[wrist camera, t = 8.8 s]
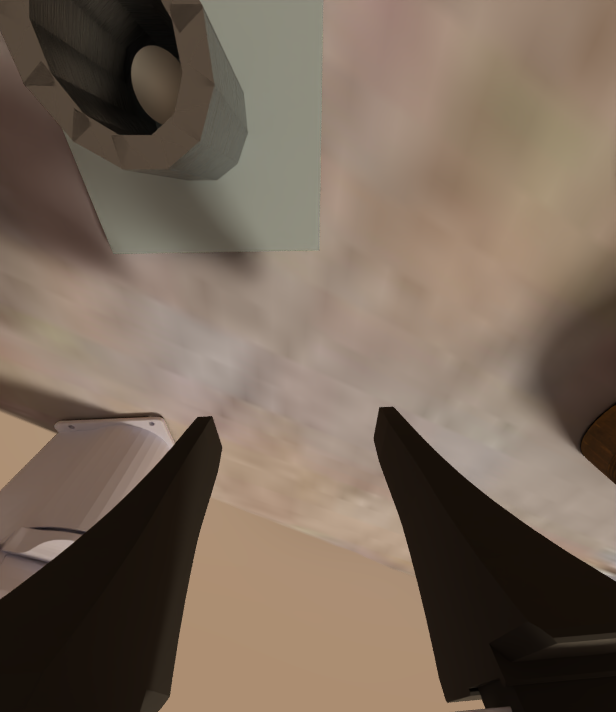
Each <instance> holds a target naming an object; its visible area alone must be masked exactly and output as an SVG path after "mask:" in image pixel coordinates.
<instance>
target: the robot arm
mask: <svg viewBox="0 0 616 712" xmlns="http://www.w3.org/2000/svg"><path fill="white" fill-rule="evenodd" d="M54 427H55V429H56V430H57V431H58V433H57V434H56V435H55V436H54V437H53V438H52V440H51V441H49V442H48V443H47V444H46V446H44V447H43V448H42V449H41V450H40V452H38V454H36V455H35V457H33V458H32V459H31V460H30V461H29V462H28V463H27V464H26V465H25V467H24V468H23V469H21V470H20V471H19V472H18V473H17V474H16V475H15V476H14V477H13V478H12V479H11V481H10V482H8V484H7V485H5V487H3V488H2V489H1V491H0V712H158V711H159V710H160V709H161V708H162V706H163V705H164V704H165V702H166V701H167V700H168V698H169V697H170V691H171V684H172V677H173V671H174V664H175V658H176V651H177V644H178V638H179V632H180V627H181V621H182V615H183V610H184V604H185V598H186V593H187V588H188V583H189V578H190V573H191V568H192V563H193V559H194V554H195V549H196V545H197V540H198V537H199V533H200V529H201V525H202V522H203V519H204V516H205V512H206V509H207V506H208V503H209V499H210V496H211V493H212V490H213V486H214V483H215V480H216V476H217V473H218V468H219V463H220V458H221V452H222V445H221V442H220V439H219V436H218V433H217V430H216V427H215V423H214V420H213V417H212V416H208V417H197V418H196V419H195V421H194V422H193V423H192V424H191V425H190V426H189V428H188V429H187V430H186V431H185V432H184V434H183V435H182V436H181V437H180V438H179V439H178V441H177V442H176V443H175V442H174V440H173V438H172V436H171V434H170V431H169V429H168V427H167V425H166V423H165V421H164V419H163V418H161V417H141V418H118V419H95V420H71V421H58V422H57V423H56V424H55V425H54ZM374 443H375V447H376V451H377V455H378V459H379V463H380V465H381V468H382V471H383V474H384V476H385V479H386V482H387V485H388V487H389V490H390V493H391V495H392V498H393V501H394V503H395V506H396V509H397V512H398V514H399V517H400V520H401V523H402V526H403V530H404V533H405V537H406V541H407V544H408V548H409V552H410V555H411V559H412V563H413V567H414V571H415V575H416V578H417V582H418V586H419V591H420V595H421V599H422V603H423V607H424V611H425V615H426V620H427V624H428V629H429V633H430V638H431V642H432V647H433V651H434V656H435V661H436V666H437V670H438V675H439V679H440V683H441V686H442V689H443V693H444V696H445V699H446V701H447V702H448V703H449V702H459V701H470V700H480V699H482V701H483V703H484V706H485V709H478V710H468V711H457V712H616V581H614V580H613V579H611V578H609V577H608V576H606V575H604V574H603V573H601V572H599V571H598V570H596V569H595V568H593V567H591V566H590V565H588V564H586V563H585V562H583V561H581V560H580V559H578V558H577V557H575V556H573V555H572V554H570V553H568V552H567V551H565V550H564V549H562V548H561V547H559V546H558V545H556V544H554V543H553V542H551V541H550V540H548V539H547V538H545V537H544V536H542V535H541V534H539V533H538V532H536V531H535V530H533V529H532V528H531V527H529V526H528V525H526V524H525V523H523V522H522V521H521V520H519V519H518V518H516V517H515V516H514V515H512V514H511V513H510V512H508V511H507V510H505V509H504V508H503V507H501V506H500V505H499V504H497V503H496V502H494V501H493V500H492V499H491V498H489V497H488V496H487V495H485V494H484V493H483V492H482V491H480V490H479V489H478V488H477V487H476V486H474V485H473V484H472V483H471V482H469V481H468V480H467V479H466V478H465V477H463V476H462V475H461V474H460V473H459V472H458V471H457V470H456V469H454V468H453V467H452V466H451V465H450V464H449V463H448V462H447V461H446V460H445V459H443V458H442V457H441V456H440V455H439V454H438V453H437V452H436V451H435V450H434V449H433V448H432V447H431V446H430V445H429V444H428V443H427V442H426V441H425V440H424V439H423V438H422V437H421V436H420V435H419V434H418V433H417V432H416V431H415V429H414V428H413V427H412V426H411V425H410V424H409V423H408V422H407V421H406V420H405V419H404V418H403V416H402V415H401V414H400V413H399V412H398V411H397V410H396V409H395V408H394V407H379V412H378V418H377V423H376V428H375V434H374Z"/></svg>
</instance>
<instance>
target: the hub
mask: <svg viewBox="0 0 616 712" xmlns="http://www.w3.org/2000/svg"><path fill="white" fill-rule="evenodd" d="M0 30H1V33H2V35H3V37H4V39H5V42H6V44H7V46H8V48H9V51H10V53H11V55H12V57H13V60H14V62H15V64H16V67H17V69H18V71H19V73H20V76H21V78H22V80H23V83H24V85H25V86H26V87H27V88H28V89H29V90H30V92H31V93H32V94H33V95H34V96H35V97H36V99H37V100H38V101H39V102H40V103H41V104H42V105H43V107H44V108H45V109H46V110H47V111H48V112H49V114H50V115H51V116H52V117H53V118H54V119H55V121H56V122H57V123H58V124H59V125H60V126H61V128H62V129H63V130H64V131H65V132H66V133H67V135H68V136H69V137H70V138H71V139H72V141H73V142H74V143H77V144H79V145H81V146H82V147H84V148H86V149H88V150H90V151H91V152H93V153H95V154H97V155H98V156H100V157H102V158H104V159H106V160H107V161H109V162H111V163H113V164H114V165H116V166H118V167H120V168H122V170H126V171H133V172H139V173H145V174H151V175H158V176H164V177H170V178H176V179H182V180H189V181H199V180H216V181H217V180H218V179H220V178H221V177H222V176H223V175H225V174H226V173H227V172H228V171H229V170H231V169H232V168H233V167H234V166H236V165H237V164H238V162H239V159H240V156H241V153H242V150H243V147H244V144H245V141H246V138H247V135H248V128H247V119H246V109H245V100H244V92H243V90H242V88H241V86H240V83H239V81H238V79H237V77H236V75H235V73H234V71H233V69H232V66H231V64H230V62H229V60H228V58H227V56H226V54H225V52H224V49H223V47H222V45H221V43H220V41H219V39H218V37H217V35H216V32H215V30H214V28H213V26H212V24H211V22H210V20H209V18H208V15H207V13H206V11H205V9H204V7H203V5H202V4H201V2H200V0H0ZM146 46H158V47H161V48H163V49H165V50H167V51H168V52H170V53H171V54H172V55H173V56H174V57H175V58H178V59H180V63H181V68H182V78H181V83H180V88H179V93H178V98H177V102H176V107H175V112H174V114H173V115H172V116H171V117H170V118H169V119H168V120H167V121H166V122H165V123H164V124H163V125H162V126H161V127H160V128H159V129H158V128H157V126H156V122H155V120H154V119H152V118H151V117H150V116H149V115H148V114H147V113H146V112H145V110H144V109H143V108H142V106H141V105H140V103H139V101H138V99H137V97H136V95H135V92H134V89H133V85H132V79H131V67H132V62H133V59H134V57H135V55H136V54H137V52H138V51H139V50H140V49H142V48H143V47H146Z"/></svg>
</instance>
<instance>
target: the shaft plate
mask: <svg viewBox="0 0 616 712" xmlns="http://www.w3.org/2000/svg"><path fill="white" fill-rule="evenodd" d="M200 2H201V4H202V5H203V7H204V9H205V11H206V13H207V15H208V18H209V20H210V22H211V24H212V26H213V28H214V30H215V32H216V35H217V37H218V39H219V41H220V43H221V45H222V47H223V49H224V52H225V54H226V56H227V58H228V60H229V62H230V64H231V66H232V69H233V71H234V73H235V75H236V77H237V79H238V81H239V83H240V86H241V88H242V90H243V92H244V100H245V109H246V119H247V128H248V135H247V138H246V141H245V144H244V147H243V150H242V153H241V156H240V159H239V162H238V164H237V165H236V166H234V167H233V168H232V169H231V170H229V171H228V172H227V173H226V174H225V175H223V176H222V177H221V178H220V179H218V180H217V181H216V180H199V181H189V180H182V179H176V178H170V177H164V176H158V175H151V174H145V173H139V172H133V171H126V170H122V168H120V167H118V166H116V165H114V164H113V163H111V162H109V161H107V160H106V159H104V158H102V157H100V156H98V155H97V154H95V153H93V152H91V151H90V150H88V149H86V148H84V147H82V146H81V145H79V144H77V143H74V142H73V141H72V139H71V138H70V137H69V136H68V135H67V133H66V132H65V131H64V130H63V129H62V130H63V132H64V134H65V137H66V139H67V142H68V144H69V147H70V149H71V152H72V154H73V156H74V159H75V161H76V164H77V166H78V169H79V171H80V174H81V176H82V179H83V181H84V183H85V186H86V188H87V191H88V193H89V196H90V198H91V201H92V203H93V205H94V208H95V210H96V213H97V215H98V218H99V220H100V223H101V225H102V227H103V230H104V232H105V235H106V237H107V240H108V242H109V245H110V247H111V250H112V252H113V254H146V253H203V252H259V251H315V250H319V240H320V177H321V113H322V50H323V0H200ZM181 78H182V68H181V63H180V59H178V58H175V57H174V56H173V55H172V54H171V53H170V52H168V51H167V50H165V49H163V48H161V47H158V46H146V47H143V48H142V49H140V50H139V51H138V52H137V54H136V55H135V57H134V59H133V62H132V67H131V79H132V85H133V89H134V92H135V95H136V97H137V99H138V101H139V103H140V105H141V106H142V108H143V109H144V110H145V112H146V113H147V114H148V115H149V116H150V117H151V118H152V119H154V120H155V122H156V126H157V128H158V129H159V128H160V127H161V126H162V125H163V124H164V123H165V122H166V121H167V120H168V119H169V118H170V117H171V116H172V115H173V114H174V112H175V107H176V102H177V98H178V93H179V88H180V83H181Z"/></svg>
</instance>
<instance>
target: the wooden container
mask: <svg viewBox="0 0 616 712" xmlns="http://www.w3.org/2000/svg"><path fill="white" fill-rule="evenodd" d="M581 451H582V454H583V455H584V456H585V457H586V458H587V459H588V460H589V461H590V462H591V463H592V464H593V465H594V466H595V467H597V468H598V469H599V470H600V471H601V472H602V473H603V474H604V475H606V476H607V477H608V478H609V479H610V480H611V481H612V482H614V483H615V484H616V404H615V405H614V406H612V407H611V408H610V409H608V410H607V411H606V412H605V413H604V414H603V415H601V416H600V417H599V418H598V419H597V420H596V421H595V422H594V423H593V425H592V426H591V427H590V428H589V430H588V431H587V433H586V434H585V436H584V438H583V440H582V444H581Z"/></svg>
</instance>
